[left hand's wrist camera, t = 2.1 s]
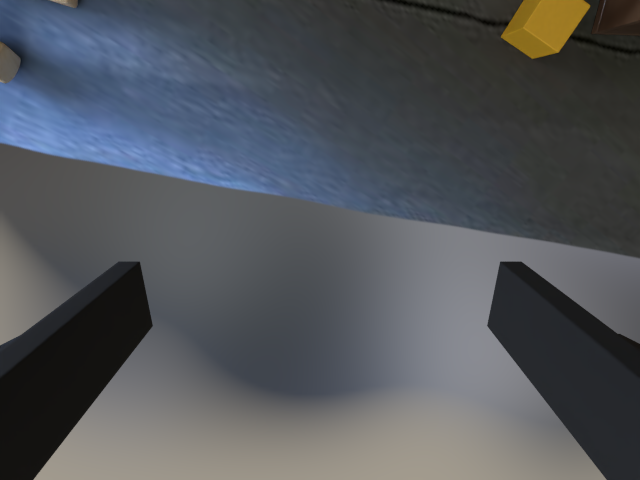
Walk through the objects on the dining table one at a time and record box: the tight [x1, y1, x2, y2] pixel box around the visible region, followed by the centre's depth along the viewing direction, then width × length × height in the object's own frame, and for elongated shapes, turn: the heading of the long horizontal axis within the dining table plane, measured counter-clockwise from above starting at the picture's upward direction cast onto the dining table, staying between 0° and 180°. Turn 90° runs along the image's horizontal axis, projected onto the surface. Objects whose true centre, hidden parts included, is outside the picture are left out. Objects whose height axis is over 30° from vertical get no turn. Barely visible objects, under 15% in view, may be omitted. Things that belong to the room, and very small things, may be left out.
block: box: [501, 0, 590, 59], centre depth 32 cm, size 4×4×4 cm
